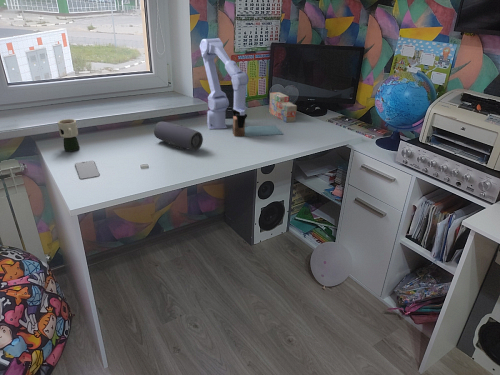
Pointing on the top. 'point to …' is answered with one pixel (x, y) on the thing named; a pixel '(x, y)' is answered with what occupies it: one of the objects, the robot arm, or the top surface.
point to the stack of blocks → (282, 107)
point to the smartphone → (87, 170)
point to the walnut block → (237, 130)
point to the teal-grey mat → (262, 130)
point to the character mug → (69, 134)
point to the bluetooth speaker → (178, 135)
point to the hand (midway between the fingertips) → (238, 125)
